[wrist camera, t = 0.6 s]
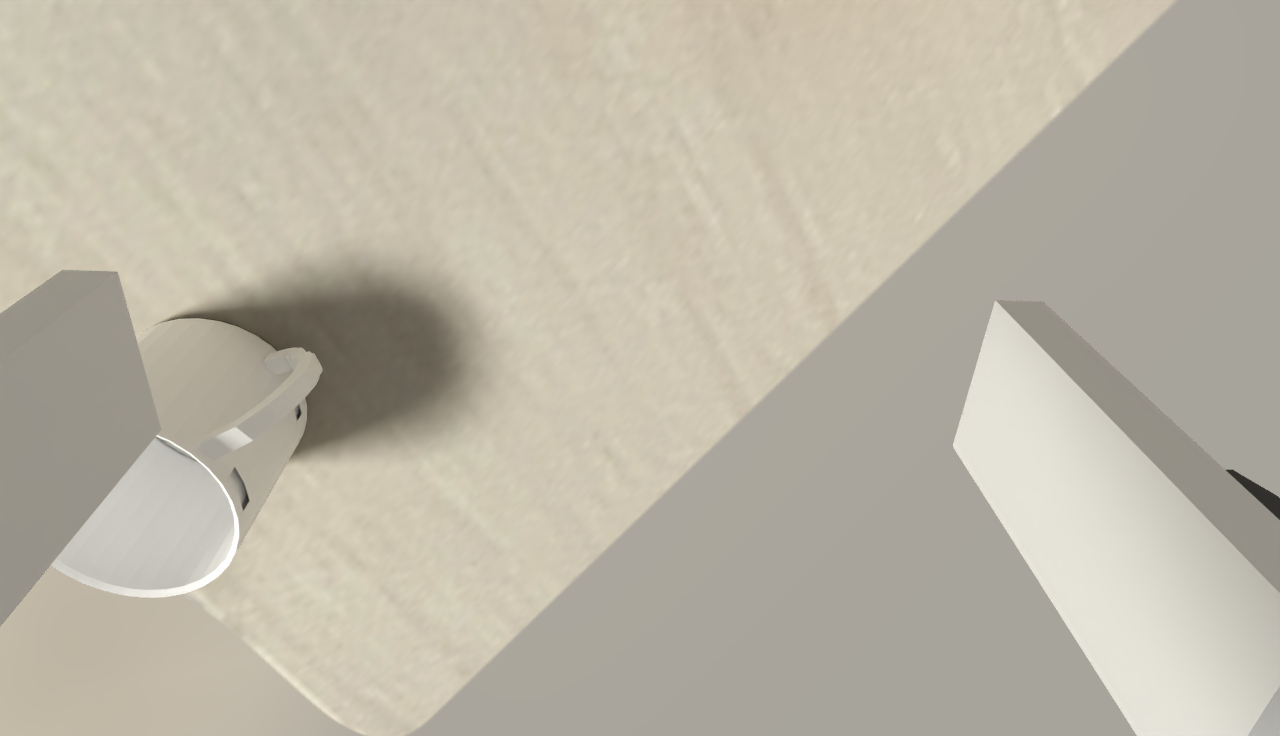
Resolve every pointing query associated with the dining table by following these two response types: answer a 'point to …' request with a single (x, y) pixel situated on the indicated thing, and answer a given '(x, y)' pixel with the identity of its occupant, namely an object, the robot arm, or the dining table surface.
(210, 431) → the mug
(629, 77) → the dining table surface
